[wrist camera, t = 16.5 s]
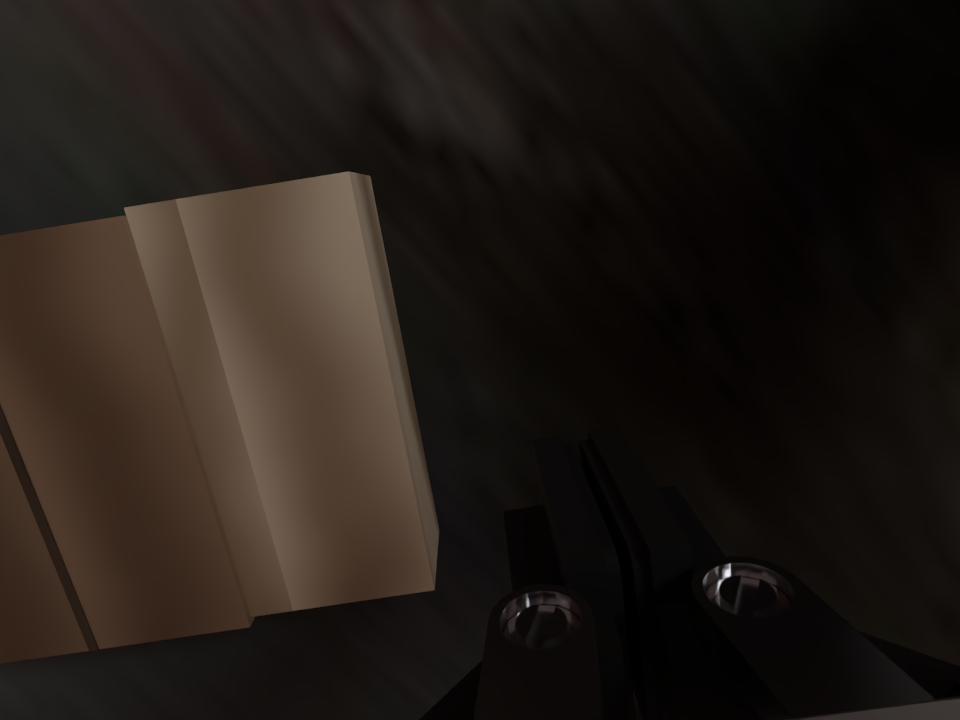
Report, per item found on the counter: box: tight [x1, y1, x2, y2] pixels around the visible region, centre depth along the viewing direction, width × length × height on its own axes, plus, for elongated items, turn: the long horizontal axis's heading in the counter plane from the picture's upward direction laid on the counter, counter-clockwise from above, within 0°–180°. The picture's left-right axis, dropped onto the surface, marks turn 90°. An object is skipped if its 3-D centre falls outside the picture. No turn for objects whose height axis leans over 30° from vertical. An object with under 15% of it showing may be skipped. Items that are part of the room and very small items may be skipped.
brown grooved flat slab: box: [0, 216, 255, 664], centre depth 20 cm, size 12×14×4 cm
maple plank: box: [124, 172, 439, 617], centre depth 20 cm, size 6×14×4 cm, turn 9°
